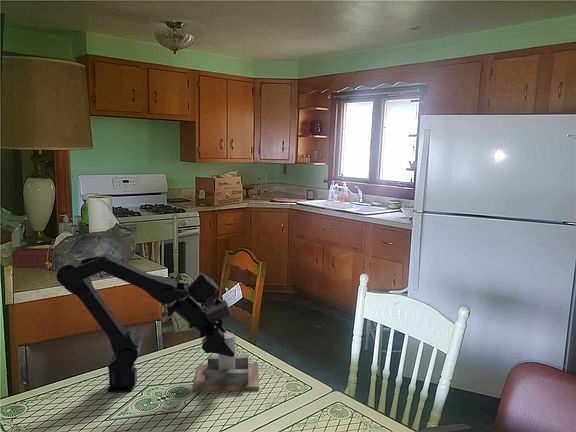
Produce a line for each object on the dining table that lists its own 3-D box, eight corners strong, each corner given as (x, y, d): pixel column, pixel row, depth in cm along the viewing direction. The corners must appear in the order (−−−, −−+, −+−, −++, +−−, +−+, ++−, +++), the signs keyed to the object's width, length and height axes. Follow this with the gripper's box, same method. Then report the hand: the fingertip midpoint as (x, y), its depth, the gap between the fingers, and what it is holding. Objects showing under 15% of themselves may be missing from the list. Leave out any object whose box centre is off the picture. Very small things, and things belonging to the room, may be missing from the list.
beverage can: (226, 380, 132) (226, 340, 130) (215, 374, 135) (214, 335, 133) (238, 373, 136) (238, 334, 134) (226, 368, 139) (226, 330, 137)
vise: (193, 391, 128) (193, 376, 127) (199, 365, 143) (198, 351, 142) (259, 390, 129) (259, 374, 129) (257, 364, 144) (257, 350, 144)
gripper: (215, 304, 122) (256, 342, 125) (212, 283, 140) (248, 317, 144) (184, 335, 121) (226, 371, 125) (186, 310, 139) (223, 342, 143)
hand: (232, 348), depth 134 cm, fingers open, 9 cm apart
